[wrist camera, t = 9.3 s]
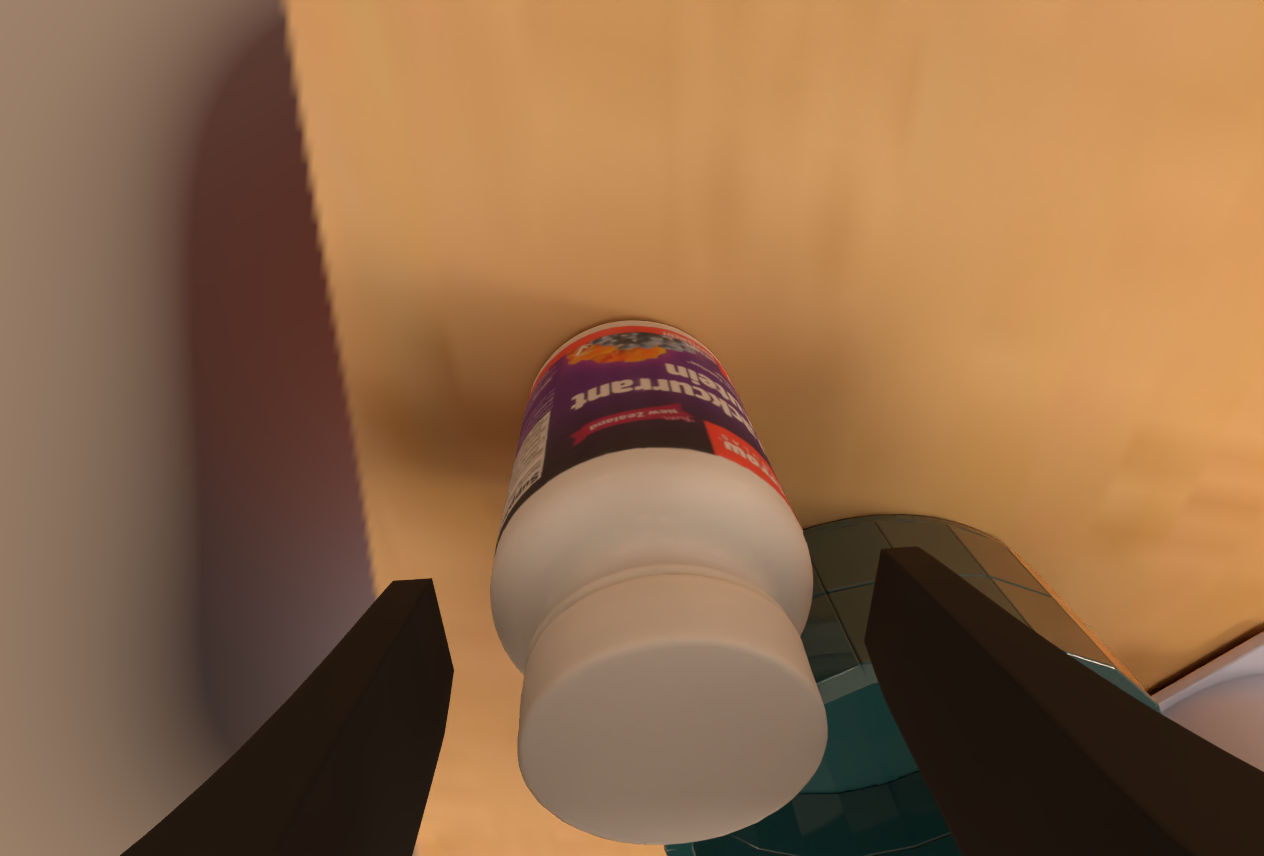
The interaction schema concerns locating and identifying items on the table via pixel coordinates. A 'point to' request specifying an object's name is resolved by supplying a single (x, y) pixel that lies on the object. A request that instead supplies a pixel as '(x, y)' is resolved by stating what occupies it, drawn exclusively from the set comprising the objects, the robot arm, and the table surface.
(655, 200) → the table surface
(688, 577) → the pill bottle
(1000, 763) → the robot arm
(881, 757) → the pot
